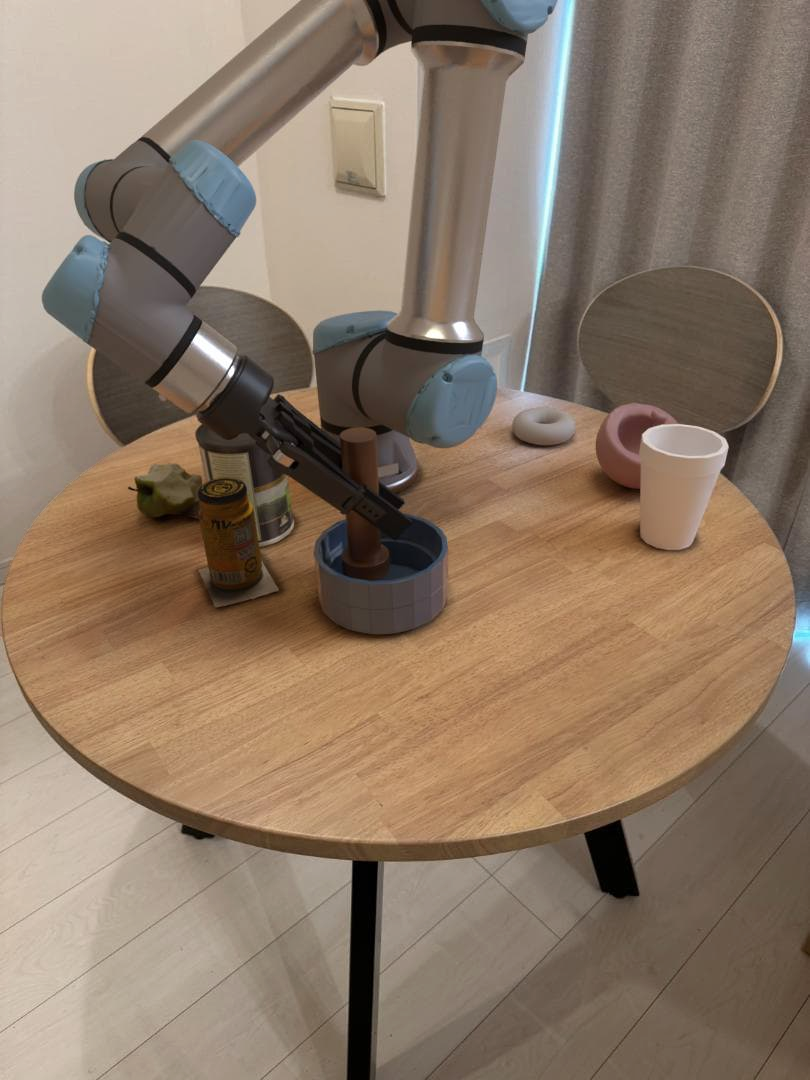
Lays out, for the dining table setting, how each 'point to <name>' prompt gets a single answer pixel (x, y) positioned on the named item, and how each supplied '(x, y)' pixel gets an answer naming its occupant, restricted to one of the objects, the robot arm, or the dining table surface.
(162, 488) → the fruit
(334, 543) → the bowl
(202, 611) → the dining table surface
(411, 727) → the dining table surface
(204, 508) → the condiment
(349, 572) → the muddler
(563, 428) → the donut
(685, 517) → the foam cup
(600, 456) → the pink hollowed ball
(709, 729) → the dining table surface
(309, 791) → the dining table surface
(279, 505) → the coffee can
